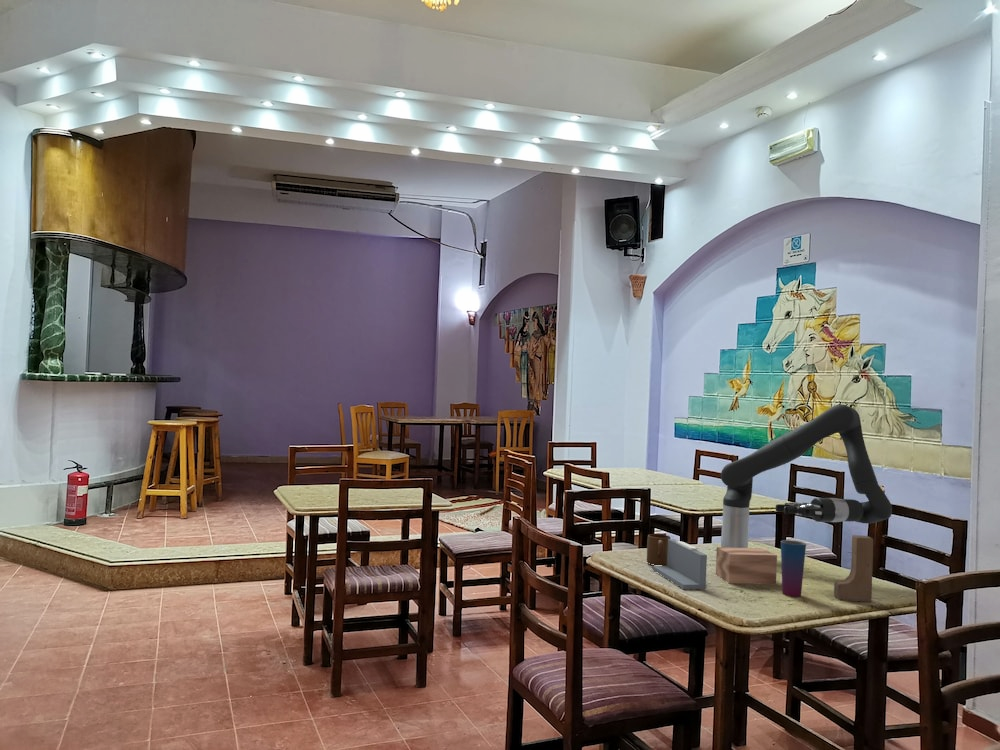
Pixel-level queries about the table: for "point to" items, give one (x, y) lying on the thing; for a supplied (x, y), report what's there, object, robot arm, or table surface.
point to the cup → (792, 567)
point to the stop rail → (684, 565)
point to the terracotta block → (746, 565)
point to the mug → (657, 549)
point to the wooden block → (858, 572)
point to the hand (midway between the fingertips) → (780, 509)
